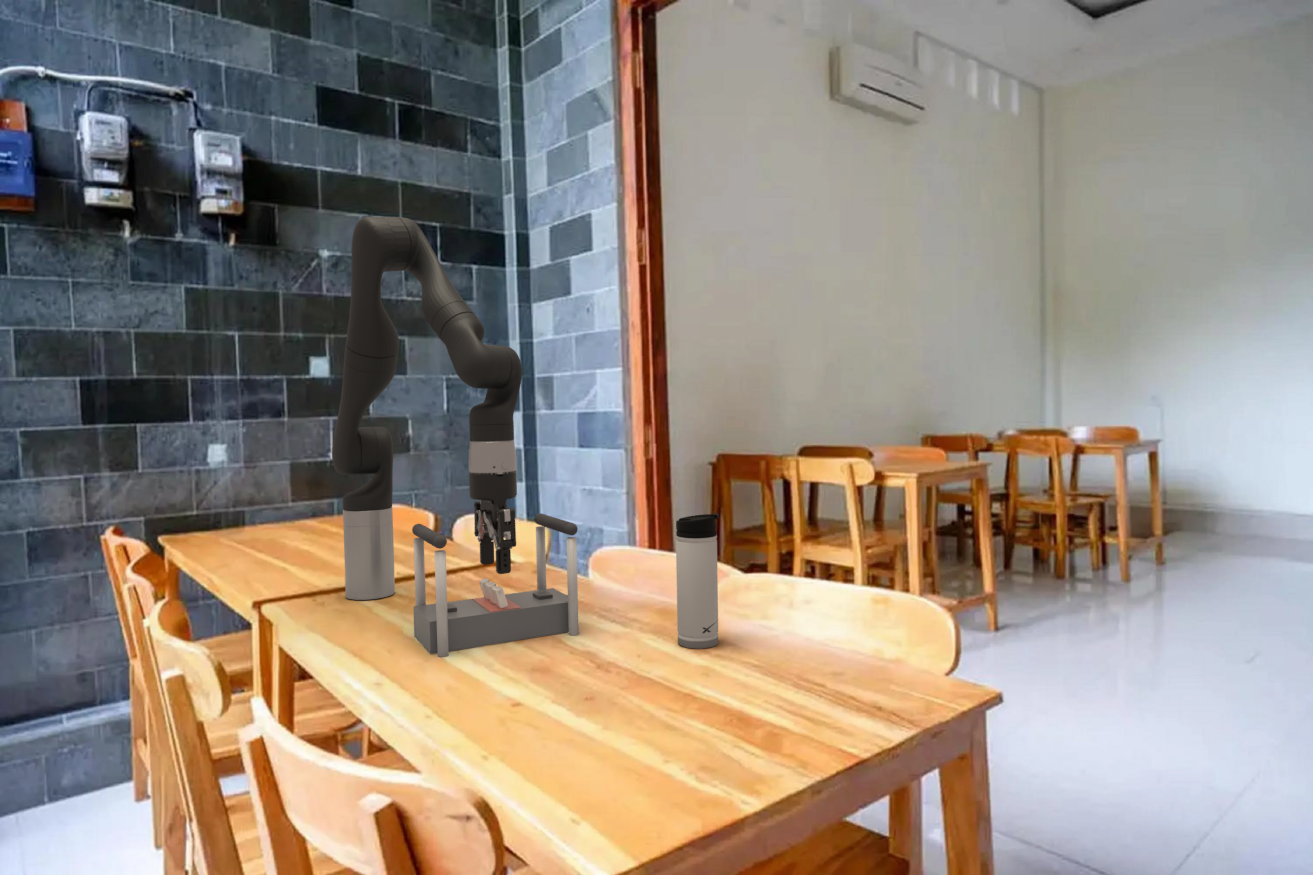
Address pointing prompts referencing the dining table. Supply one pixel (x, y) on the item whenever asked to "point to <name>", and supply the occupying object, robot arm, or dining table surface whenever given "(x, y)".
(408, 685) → the dining table surface
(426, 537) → the dark grey rounded rod
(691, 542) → the travel mug
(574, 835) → the dining table surface
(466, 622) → the pdu
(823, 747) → the dining table surface
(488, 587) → the breaker paddles
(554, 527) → the dark grey rod
